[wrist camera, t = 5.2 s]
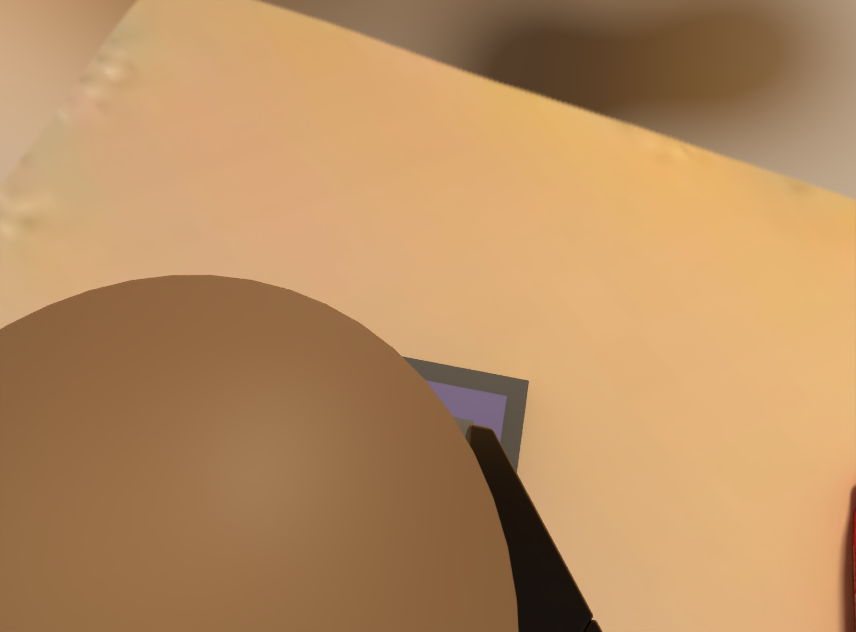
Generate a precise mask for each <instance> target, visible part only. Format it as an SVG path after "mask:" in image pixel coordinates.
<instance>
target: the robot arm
mask: <svg viewBox="0 0 856 632" xmlns="http://www.w3.org/2000/svg"><path fill="white" fill-rule="evenodd" d="M465 438H466V440H467V442H468V443H469V445H470V447H471V449H472V450H473V452H474V454H475V456H476V459H477V461H478V463H479V466H480V468H481V470H482V473H483V475H484V477H485V480H486V482H487V484H488V487H489V489H490V491H491V494H492V496H493V498H494V502H495V505H496V509H497V512H498V515H499V519H500V522H501V526H502V529H503V533H504V536H505V539H506V543H507V546H508V551H509V557H510V563H511V569H512V575H513V581H514V587H515V593H516V599H517V613H518V632H602V630H601V628H600V626H599V625H598V623H597V621H596V620H592V618H593V614H592V612H591V610H590V608H589V606H588V605H587V603H586V601H585V599H584V597H583V595H582V593H581V592H580V590H579V588H578V586H577V584H576V582H575V580H574V579H573V577H572V575H571V573H570V571H569V569H568V567H567V566H566V564H565V562H564V560H563V558H562V556H561V554H560V553H559V551H558V549H557V547H556V545H555V543H554V541H553V540H552V538H551V536H550V534H549V532H548V530H547V528H546V527H545V525H544V523H543V521H542V519H541V517H540V515H539V514H538V512H537V510H536V508H535V506H534V504H533V502H532V501H531V499H530V497H529V495H528V493H527V491H526V489H525V488H524V486H523V484H522V482H521V480H520V478H519V476H518V475H517V473H516V471H515V469H514V467H513V465H512V463H511V462H510V460H509V458H508V456H507V454H506V452H505V450H504V449H503V447H502V445H501V443H500V441H499V439H498V437H497V436H496V434H495V432H494V430H493V429H491V428H489V427H484V426H479V425H474V424H471V425H469V427H468V429H467V432H466V437H465Z"/></svg>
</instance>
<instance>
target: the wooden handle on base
mask: <svg viewBox="0 0 856 632" xmlns="http://www.w3.org/2000/svg"><path fill="white" fill-rule="evenodd" d="M471 424H474V421H472V420H467V419H462V418H457V417H453V416H452V414H451V413H450V412H449V410H448V409H447V408H446V406H445V405H444V404H443V403H442V401H441V400H440V399H439V397H438V396H437V395H436V393H435V392H434V391H433V390H432V388H431V387H430V386H429V384H428V383H427V382H426V381H425V379H424V378H423V377H422V376H421V375H420V374H419V373H418V372H417V371H416V370H415V369H414V368H413V367H412V366H411V365H410V364H409V363H408V362H407V361H406V360H405V359H404V358H403V357H402V356H401V355H400V354H399V353H398V352H397V351H396V350H395V349H394V348H392V347H391V346H390V345H388V344H387V343H386V342H384V341H383V340H382V339H380V338H379V337H378V336H376V335H375V334H374V333H372V332H371V331H370V330H368V329H367V328H366V327H365V326H363V325H362V324H360V323H359V322H357V321H355V320H353V319H351V318H350V317H348V316H346V315H344V314H343V313H341V312H339V311H337V310H335V309H334V308H332V307H330V306H328V305H327V304H324V303H322V302H319V301H317V300H314V299H312V298H309V297H307V296H304V295H302V294H299V293H297V292H294V291H292V290H289V289H285V288H281V287H277V286H273V285H269V284H265V283H261V282H257V281H253V280H247V279H239V278H230V277H222V276H214V275H171V276H163V277H155V278H147V279H139V280H131V281H127V282H122V283H118V284H114V285H110V286H106V287H102V288H98V289H93V290H89V291H87V292H84V293H81V294H78V295H76V296H73V297H70V298H67V299H64V300H62V301H59V302H56V303H53V304H51V305H48V306H46V307H44V308H42V309H40V310H38V311H36V312H34V313H31V314H29V315H27V316H25V317H23V318H21V319H19V320H17V321H15V322H13V323H11V324H9V325H7V326H5V327H4V328H2V329H0V632H518V613H517V599H516V593H515V587H514V581H513V575H512V569H511V563H510V557H509V551H508V546H507V543H506V539H505V536H504V533H503V529H502V526H501V522H500V519H499V515H498V512H497V509H496V505H495V502H494V498H493V496H492V494H491V491H490V489H489V487H488V484H487V482H486V480H485V477H484V475H483V473H482V470H481V468H480V466H479V463H478V461H477V459H476V456H475V454H474V452H473V450H472V449H471V447H470V445H469V443H468V442H467V440H466V438H465V437H466V432H467V429H468V427H469V425H471Z"/></svg>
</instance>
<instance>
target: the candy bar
mask: <svg viewBox="0 0 856 632" xmlns="http://www.w3.org/2000/svg"><path fill="white" fill-rule="evenodd" d="M853 568H854V607H855V632H856V510H855V511H854V525H853Z"/></svg>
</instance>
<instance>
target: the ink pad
mask: <svg viewBox="0 0 856 632" xmlns="http://www.w3.org/2000/svg"><path fill="white" fill-rule="evenodd" d="M403 358H404V359H405V360H406V361H407V362H408V363H409V364H410V365H411V366H412V367H413V368H414V369H415V370H416V371H417V372H418V373H419V374H420V375H421V376H422V377H423V378H424V379H425V381H426V382H427V383H428V384H429V386H430V387H431V388H432V390H433V391H434V392H435V393H436V395H437V396H438V397H439V399H440V400H441V401H442V403H443V404H444V405H445V406H446V408H447V409H448V410H449V412H450V413H451V414H452V416H453V417H457V418H462V419H467V420H472V421H474V425H479V426H484V427H489V428H491V429H493V430H494V432H495V434H496V436H497V437H498V439H499V441H500V443H501V445H502V447H503V449H504V450H505V452H506V454H507V456H508V458H509V460H510V462H511V463H512V465H513V467H514V469H515V471H516V473H517V467H518V459H519V452H520V444H521V436H522V429H523V421H524V414H525V406H526V398H527V391H528V383H529V381H528V380H522V379H517V378H512V377H507V376H501V375H496V374H491V373H486V372H480V371H475V370H470V369H465V368H459V367H454V366H449V365H444V364H439V363H433V362H428V361H423V360H418V359H412V358H407V357H403Z"/></svg>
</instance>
